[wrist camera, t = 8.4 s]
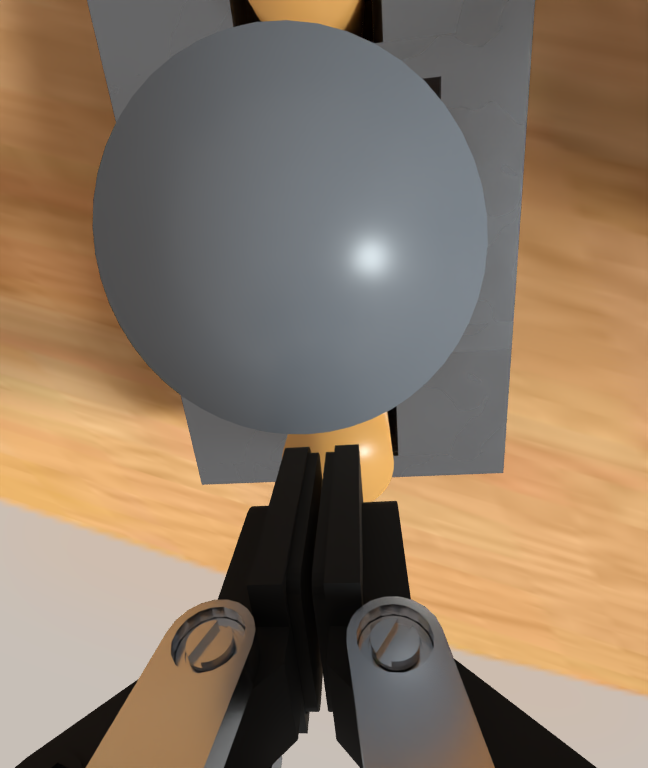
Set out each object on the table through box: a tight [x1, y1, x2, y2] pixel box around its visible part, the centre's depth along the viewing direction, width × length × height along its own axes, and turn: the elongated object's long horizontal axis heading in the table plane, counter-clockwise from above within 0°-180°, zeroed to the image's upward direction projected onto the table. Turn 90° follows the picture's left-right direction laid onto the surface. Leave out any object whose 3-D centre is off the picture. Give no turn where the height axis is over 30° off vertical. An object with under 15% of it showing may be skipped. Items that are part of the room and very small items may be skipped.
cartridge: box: [93, 20, 488, 434], centre depth 11 cm, size 5×5×12 cm
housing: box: [87, 0, 535, 485], centre depth 14 cm, size 16×10×5 cm, turn 6°
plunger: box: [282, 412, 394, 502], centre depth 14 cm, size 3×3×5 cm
